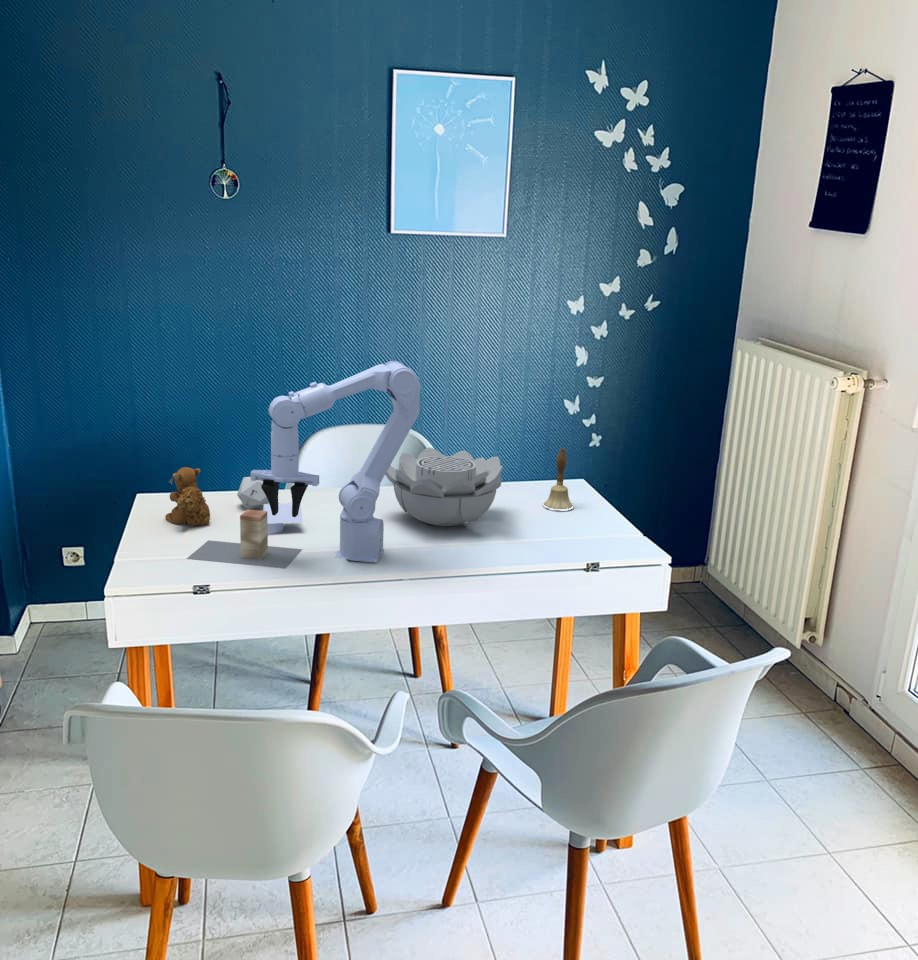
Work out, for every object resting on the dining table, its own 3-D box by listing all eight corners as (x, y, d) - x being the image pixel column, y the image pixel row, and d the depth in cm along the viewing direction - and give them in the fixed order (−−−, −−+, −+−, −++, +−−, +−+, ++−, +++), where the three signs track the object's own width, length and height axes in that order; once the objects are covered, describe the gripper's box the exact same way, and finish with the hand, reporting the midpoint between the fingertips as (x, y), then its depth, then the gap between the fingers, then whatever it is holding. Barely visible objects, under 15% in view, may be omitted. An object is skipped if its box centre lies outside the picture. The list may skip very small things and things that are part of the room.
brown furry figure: (202, 511, 236) (201, 460, 233) (222, 528, 225) (221, 475, 222) (162, 517, 231) (160, 464, 228) (180, 534, 220) (178, 479, 216)
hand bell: (536, 504, 255) (540, 446, 251) (562, 501, 259) (566, 444, 254) (553, 513, 248) (558, 454, 244) (580, 510, 252) (584, 451, 247)
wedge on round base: (297, 523, 231) (243, 526, 228) (297, 496, 230) (242, 499, 226) (302, 535, 223) (246, 538, 219) (302, 508, 221) (245, 510, 217)
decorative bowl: (457, 551, 217) (460, 488, 213) (361, 521, 234) (362, 463, 230) (529, 521, 241) (533, 463, 237) (437, 496, 258) (439, 442, 254)
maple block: (267, 552, 210) (267, 511, 207) (260, 559, 205) (260, 517, 203) (248, 550, 210) (247, 509, 208) (240, 557, 206) (240, 515, 203)
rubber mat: (302, 551, 212) (302, 549, 212) (285, 570, 201) (285, 568, 201) (208, 542, 215) (208, 540, 215) (186, 561, 204) (186, 558, 204)
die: (230, 509, 241) (235, 486, 234) (244, 485, 247) (249, 462, 240) (260, 522, 242) (265, 499, 234) (274, 498, 247) (279, 475, 240)
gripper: (245, 455, 197) (246, 517, 201) (312, 461, 196) (312, 523, 199) (256, 447, 204) (257, 507, 208) (322, 452, 202) (321, 513, 206)
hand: (285, 514), depth 204 cm, fingers open, 4 cm apart
